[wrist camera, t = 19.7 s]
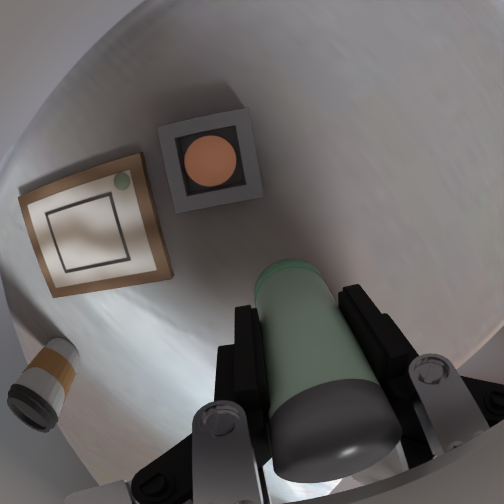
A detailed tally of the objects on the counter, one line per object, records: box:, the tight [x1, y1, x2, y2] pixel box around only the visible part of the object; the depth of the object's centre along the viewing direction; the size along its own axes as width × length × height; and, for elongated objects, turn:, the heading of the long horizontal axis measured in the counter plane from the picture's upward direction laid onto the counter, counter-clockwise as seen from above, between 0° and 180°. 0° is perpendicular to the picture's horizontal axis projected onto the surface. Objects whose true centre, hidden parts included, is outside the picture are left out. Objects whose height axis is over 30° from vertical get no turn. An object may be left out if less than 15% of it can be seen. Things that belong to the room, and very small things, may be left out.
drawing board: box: [18, 152, 174, 298], centre depth 32 cm, size 15×19×1 cm
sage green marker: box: [254, 259, 402, 483], centre depth 9 cm, size 3×3×8 cm
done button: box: [185, 136, 236, 186], centre depth 28 cm, size 5×5×2 cm
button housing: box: [157, 108, 264, 214], centre depth 29 cm, size 9×9×3 cm
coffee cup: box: [7, 338, 80, 433], centre depth 33 cm, size 8×8×15 cm
